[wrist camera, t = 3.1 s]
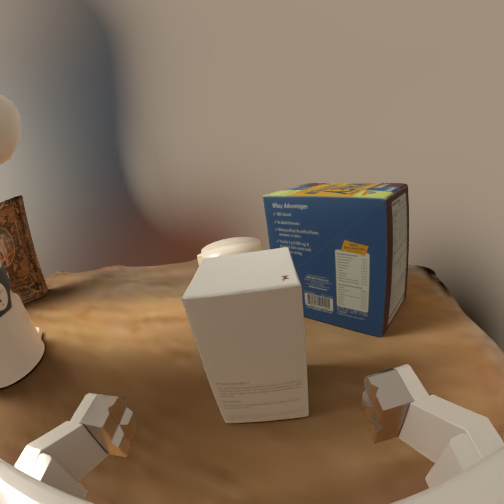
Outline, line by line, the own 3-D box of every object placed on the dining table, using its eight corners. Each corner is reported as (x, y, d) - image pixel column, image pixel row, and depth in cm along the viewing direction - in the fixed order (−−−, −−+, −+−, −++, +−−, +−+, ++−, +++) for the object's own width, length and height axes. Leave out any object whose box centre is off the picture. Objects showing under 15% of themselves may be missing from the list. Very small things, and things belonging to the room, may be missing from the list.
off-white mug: (277, 295, 42) (270, 237, 39) (250, 323, 36) (239, 258, 33) (224, 288, 47) (213, 236, 44) (193, 311, 41) (178, 254, 38)
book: (49, 288, 59) (23, 195, 51) (47, 294, 55) (19, 195, 47) (1, 306, 50) (-26, 215, 43) (-3, 313, 46) (-33, 217, 38)
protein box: (315, 279, 45) (306, 182, 40) (406, 297, 35) (409, 183, 30) (275, 309, 38) (259, 195, 33) (382, 339, 28) (387, 196, 23)
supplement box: (301, 363, 27) (291, 244, 23) (309, 418, 20) (303, 283, 16) (229, 370, 27) (202, 255, 24) (221, 425, 20) (178, 296, 17)
